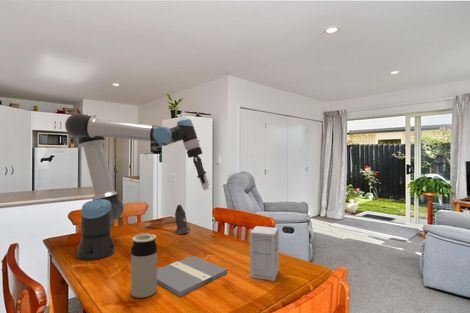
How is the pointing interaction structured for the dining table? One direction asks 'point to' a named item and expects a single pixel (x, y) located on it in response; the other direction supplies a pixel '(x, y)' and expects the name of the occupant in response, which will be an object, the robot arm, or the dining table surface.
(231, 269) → the dining table surface
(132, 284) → the travel mug
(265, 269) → the supplement box
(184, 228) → the hammer
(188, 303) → the dining table surface
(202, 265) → the board
